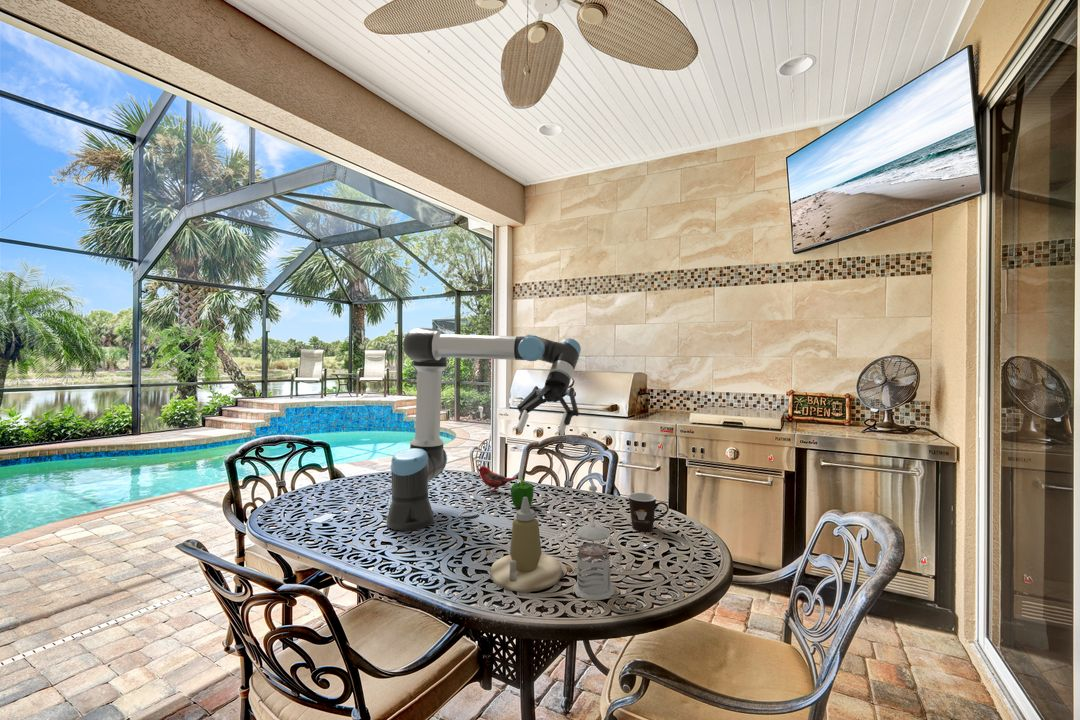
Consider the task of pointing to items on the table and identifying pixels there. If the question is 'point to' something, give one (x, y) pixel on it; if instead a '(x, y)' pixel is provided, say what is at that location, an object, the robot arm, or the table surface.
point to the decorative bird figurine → (493, 478)
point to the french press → (597, 581)
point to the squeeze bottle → (525, 539)
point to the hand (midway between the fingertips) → (539, 431)
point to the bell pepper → (521, 493)
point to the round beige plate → (526, 574)
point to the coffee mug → (643, 511)
